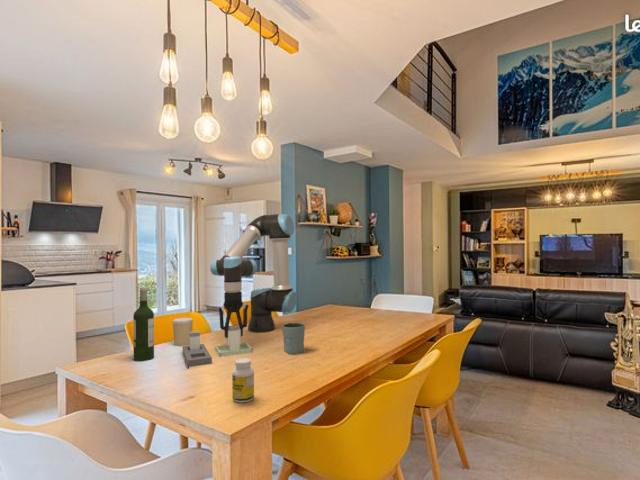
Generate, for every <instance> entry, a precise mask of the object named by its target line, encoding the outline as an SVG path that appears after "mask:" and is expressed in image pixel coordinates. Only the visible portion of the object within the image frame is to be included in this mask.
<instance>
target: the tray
mask: <svg viewBox="0 0 640 480" xmlns="http://www.w3.org/2000/svg"><path fill="white" fill-rule="evenodd" d="M214 350H215V352H216V354H217V355H218V356H219V357H220V358H223V357H230V356H231V357H232V356H235V355H244V354H252V353H253V348H252V346H250V344H248V343H247V342H246V341H245V342H241V344H240V349H239V350H232V351H230V349H229V346H228V345H227V344H223V345H215V346H214Z"/></svg>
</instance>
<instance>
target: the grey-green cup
mask: <svg viewBox="0 0 640 480" xmlns="http://www.w3.org/2000/svg"><path fill="white" fill-rule="evenodd" d="M281 327H282V329H281V330H282V337H283V352H284V353H285V354H287V355H290V356H292V355H293V356H295V355H301V354H303V353H304V351H305V344H304V341H305V333H306V332H305V330H306V324H305V323H303V322H287V323H286V322H285V323H283V324H282V326H281Z"/></svg>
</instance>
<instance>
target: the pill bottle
mask: <svg viewBox="0 0 640 480" xmlns="http://www.w3.org/2000/svg"><path fill="white" fill-rule="evenodd" d="M234 364H235V368H234V369H233V370H232V374H231V377H232V380H231V381H232V395H231V396H232V400H233V401H234V402H235V403H248V402H250V401H252V400H253V399H254V398H255V371H254V368H252V361H251V359H250V358H245V357H244V358H239V359H236V360H235V362H234Z"/></svg>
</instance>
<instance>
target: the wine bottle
mask: <svg viewBox="0 0 640 480" xmlns="http://www.w3.org/2000/svg"><path fill="white" fill-rule="evenodd" d="M148 305H149V304H148V288H147V287H146V286H145V287H140V289H139V306H138V308H137V309H136V310H134V313H133V316H132V317H133V319H132V320H133V321H132V322H133V323H132V324H133V327H132V328H133V361H134V362H135V361H136V362H146V361H150V360H152V359H154V358H155V320H154V319H155V317H154V316H155V314H154V310H152V309H151V308H150V307H149V306H148Z"/></svg>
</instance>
